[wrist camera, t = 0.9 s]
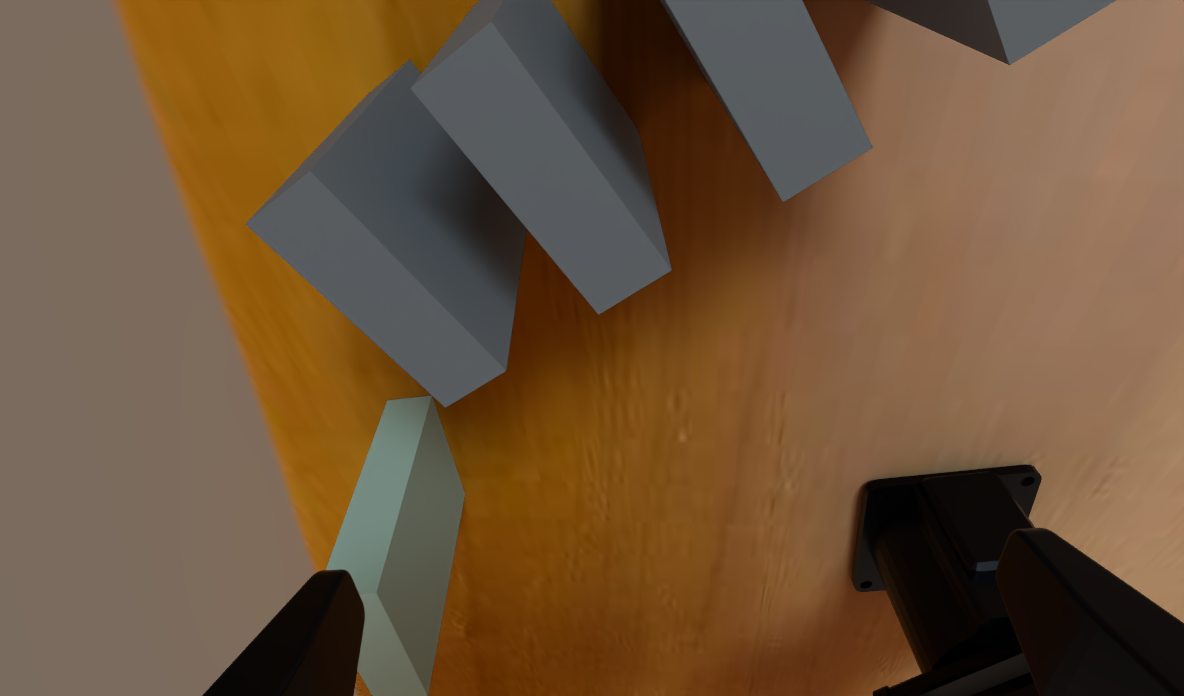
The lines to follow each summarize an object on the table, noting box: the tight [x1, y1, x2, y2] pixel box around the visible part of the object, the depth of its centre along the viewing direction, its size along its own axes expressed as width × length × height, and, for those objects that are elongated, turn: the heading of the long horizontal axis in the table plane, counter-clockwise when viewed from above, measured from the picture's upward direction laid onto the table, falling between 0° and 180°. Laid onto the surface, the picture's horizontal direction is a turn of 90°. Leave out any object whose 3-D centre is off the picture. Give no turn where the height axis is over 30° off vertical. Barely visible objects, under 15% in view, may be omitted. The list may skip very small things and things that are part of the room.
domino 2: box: [410, 0, 672, 315], centre depth 15 cm, size 2×5×8 cm, turn 35°
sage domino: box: [326, 396, 465, 696], centre depth 22 cm, size 2×5×8 cm, turn 7°
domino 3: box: [660, 0, 873, 202], centre depth 13 cm, size 2×5×8 cm, turn 35°
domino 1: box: [246, 60, 527, 408], centre depth 16 cm, size 2×5×8 cm, turn 35°
